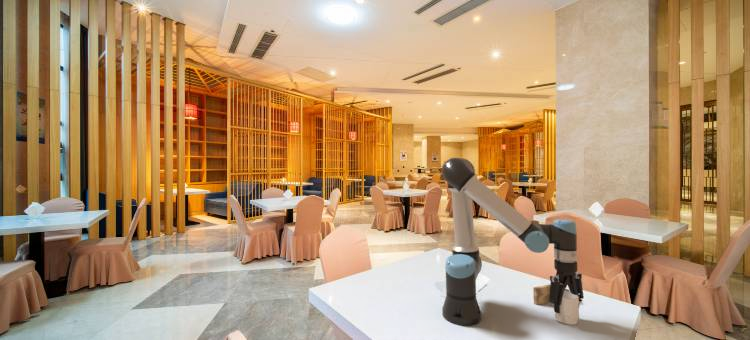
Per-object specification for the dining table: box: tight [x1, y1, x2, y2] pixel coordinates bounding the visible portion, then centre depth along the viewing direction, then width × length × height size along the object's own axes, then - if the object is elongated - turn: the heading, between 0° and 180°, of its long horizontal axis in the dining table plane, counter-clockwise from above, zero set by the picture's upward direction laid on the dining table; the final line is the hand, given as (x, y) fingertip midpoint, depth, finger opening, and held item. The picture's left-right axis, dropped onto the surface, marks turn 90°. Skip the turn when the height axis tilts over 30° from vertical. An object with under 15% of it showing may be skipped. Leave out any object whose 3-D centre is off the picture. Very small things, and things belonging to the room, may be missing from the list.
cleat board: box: [532, 283, 570, 306], centre depth 128 cm, size 16×4×7 cm, turn 107°
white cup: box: [557, 291, 580, 326], centre depth 113 cm, size 8×8×10 cm
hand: (567, 318), depth 113 cm, fingers closed on white cup, 7 cm apart
